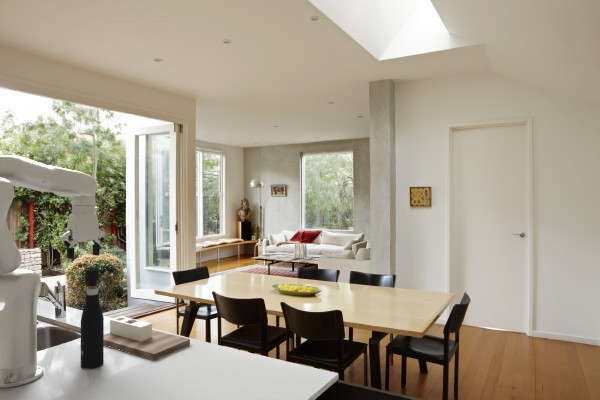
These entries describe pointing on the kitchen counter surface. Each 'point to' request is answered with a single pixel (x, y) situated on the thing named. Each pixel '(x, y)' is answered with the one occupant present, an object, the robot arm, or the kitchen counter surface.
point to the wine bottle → (92, 325)
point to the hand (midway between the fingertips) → (83, 256)
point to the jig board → (147, 344)
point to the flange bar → (131, 328)
